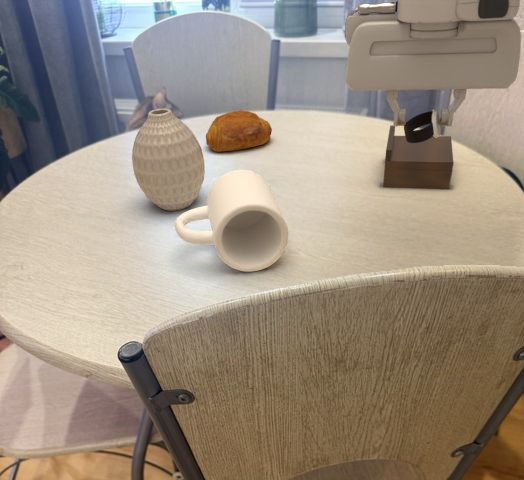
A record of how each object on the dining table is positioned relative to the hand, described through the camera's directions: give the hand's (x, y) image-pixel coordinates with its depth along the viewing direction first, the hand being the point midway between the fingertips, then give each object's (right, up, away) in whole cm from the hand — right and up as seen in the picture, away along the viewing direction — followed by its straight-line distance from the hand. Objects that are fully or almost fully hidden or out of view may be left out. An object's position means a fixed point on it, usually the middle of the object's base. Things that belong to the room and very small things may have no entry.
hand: (422, 125), depth 70 cm
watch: (0, -1, +1) cm, 2 cm away
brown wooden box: (+9, +5, +35) cm, 37 cm away
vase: (-37, -2, +32) cm, 49 cm away
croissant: (-27, +19, +56) cm, 65 cm away
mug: (-26, -14, +16) cm, 33 cm away
